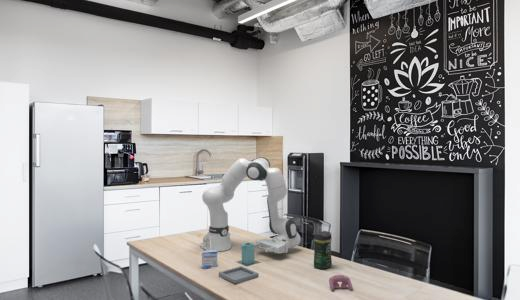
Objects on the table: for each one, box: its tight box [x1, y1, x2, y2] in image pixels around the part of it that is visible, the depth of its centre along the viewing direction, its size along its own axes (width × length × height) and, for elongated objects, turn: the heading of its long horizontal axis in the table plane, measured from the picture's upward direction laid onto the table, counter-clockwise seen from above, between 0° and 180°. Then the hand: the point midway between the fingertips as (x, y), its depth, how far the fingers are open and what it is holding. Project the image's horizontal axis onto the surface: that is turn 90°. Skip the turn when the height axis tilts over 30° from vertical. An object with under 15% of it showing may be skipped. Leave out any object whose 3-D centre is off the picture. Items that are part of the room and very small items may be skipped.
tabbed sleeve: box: [240, 241, 256, 264], centre depth 196 cm, size 5×6×10 cm
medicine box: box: [201, 250, 218, 270], centre depth 192 cm, size 8×4×9 cm, turn 105°
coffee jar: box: [313, 230, 333, 270], centre depth 189 cm, size 10×8×19 cm
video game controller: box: [328, 274, 353, 292], centre depth 160 cm, size 10×5×7 cm, turn 93°
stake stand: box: [236, 259, 262, 268], centre depth 197 cm, size 10×10×5 cm
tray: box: [218, 265, 259, 285], centre depth 177 cm, size 14×14×2 cm
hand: (259, 248), depth 202 cm, fingers open, 8 cm apart
